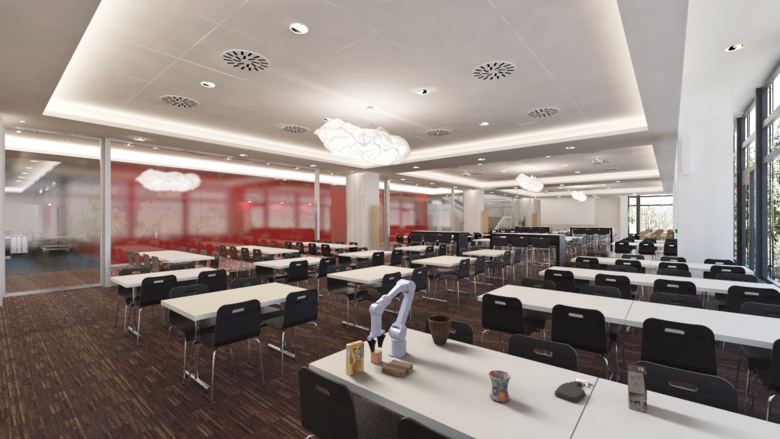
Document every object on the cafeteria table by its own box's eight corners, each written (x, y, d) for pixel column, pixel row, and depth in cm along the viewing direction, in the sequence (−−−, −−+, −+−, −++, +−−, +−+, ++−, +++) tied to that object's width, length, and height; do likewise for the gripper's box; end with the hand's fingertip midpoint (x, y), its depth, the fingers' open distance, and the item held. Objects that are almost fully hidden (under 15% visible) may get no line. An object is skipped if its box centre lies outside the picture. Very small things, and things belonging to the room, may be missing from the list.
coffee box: (647, 413, 144) (647, 374, 144) (628, 408, 147) (628, 370, 147) (645, 403, 152) (645, 366, 152) (627, 399, 155) (627, 363, 155)
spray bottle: (552, 396, 158) (571, 380, 175) (578, 406, 150) (596, 387, 167) (552, 390, 158) (571, 374, 175) (578, 399, 150) (596, 381, 167)
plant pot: (427, 346, 218) (427, 321, 218) (428, 338, 233) (428, 314, 232) (451, 348, 215) (451, 322, 215) (451, 340, 230) (451, 315, 230)
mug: (508, 406, 149) (508, 381, 149) (486, 400, 154) (486, 376, 154) (513, 393, 160) (513, 370, 160) (492, 388, 164) (492, 366, 164)
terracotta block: (375, 359, 199) (375, 349, 199) (381, 361, 196) (381, 350, 196) (370, 362, 195) (370, 351, 195) (377, 364, 192) (377, 353, 192)
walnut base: (393, 365, 192) (393, 359, 192) (412, 370, 186) (412, 364, 186) (381, 373, 182) (381, 367, 182) (401, 379, 175) (401, 373, 175)
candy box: (359, 368, 186) (359, 340, 186) (364, 371, 183) (364, 342, 183) (345, 373, 181) (345, 343, 181) (350, 376, 178) (350, 346, 178)
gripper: (377, 321, 204) (377, 344, 204) (362, 327, 191) (362, 352, 191) (387, 322, 200) (387, 346, 200) (373, 329, 188) (373, 354, 188)
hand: (376, 349), depth 195 cm, fingers open, 7 cm apart
